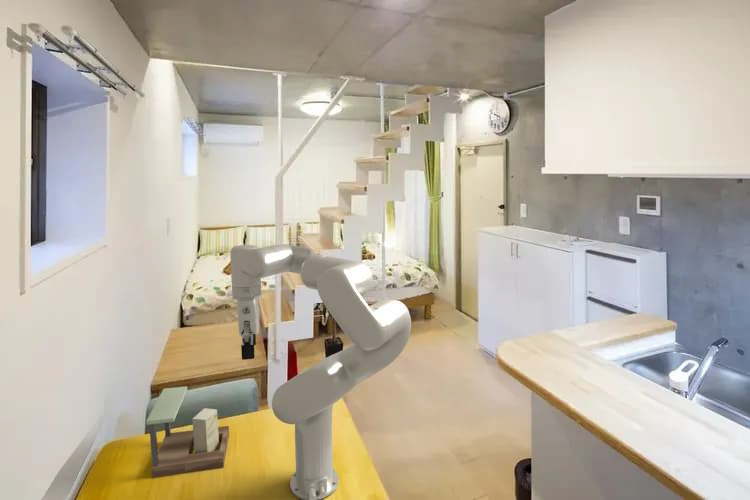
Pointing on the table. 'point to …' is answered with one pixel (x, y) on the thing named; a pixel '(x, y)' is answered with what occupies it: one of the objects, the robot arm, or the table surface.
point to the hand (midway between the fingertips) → (249, 351)
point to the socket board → (179, 440)
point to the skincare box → (205, 431)
